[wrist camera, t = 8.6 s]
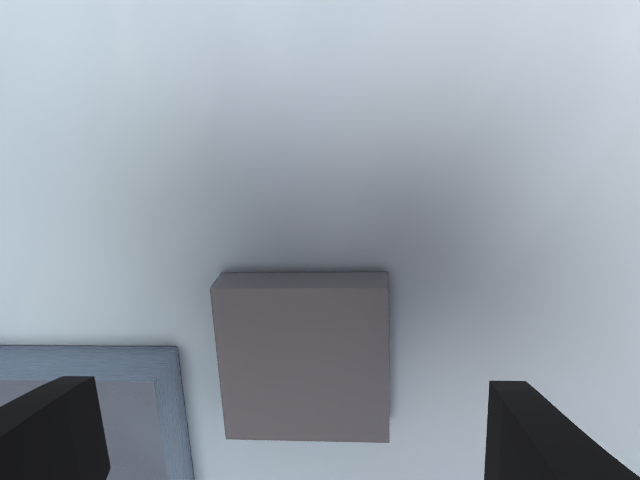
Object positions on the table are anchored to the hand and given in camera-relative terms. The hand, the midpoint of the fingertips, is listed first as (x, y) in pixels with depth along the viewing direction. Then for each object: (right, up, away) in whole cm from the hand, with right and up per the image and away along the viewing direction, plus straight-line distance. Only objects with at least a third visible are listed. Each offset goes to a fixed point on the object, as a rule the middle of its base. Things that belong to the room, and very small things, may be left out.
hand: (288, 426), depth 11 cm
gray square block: (0, -1, +11) cm, 11 cm away
